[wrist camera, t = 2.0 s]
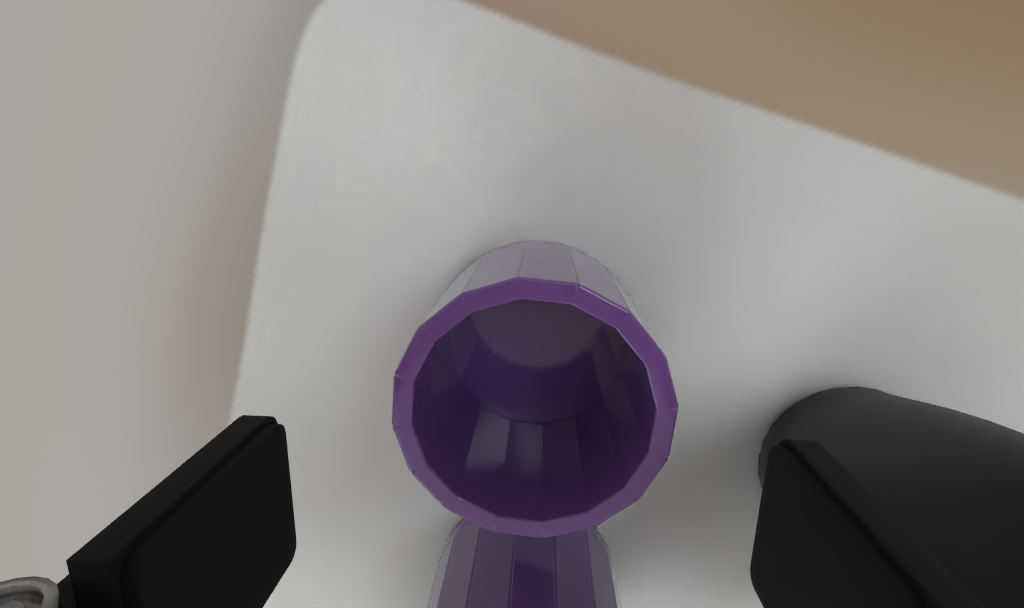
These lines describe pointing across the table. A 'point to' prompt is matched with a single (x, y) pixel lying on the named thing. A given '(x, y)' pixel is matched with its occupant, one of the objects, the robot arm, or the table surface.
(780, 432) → the mug
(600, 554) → the ramekin
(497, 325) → the ramekin
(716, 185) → the table surface
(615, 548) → the table surface
